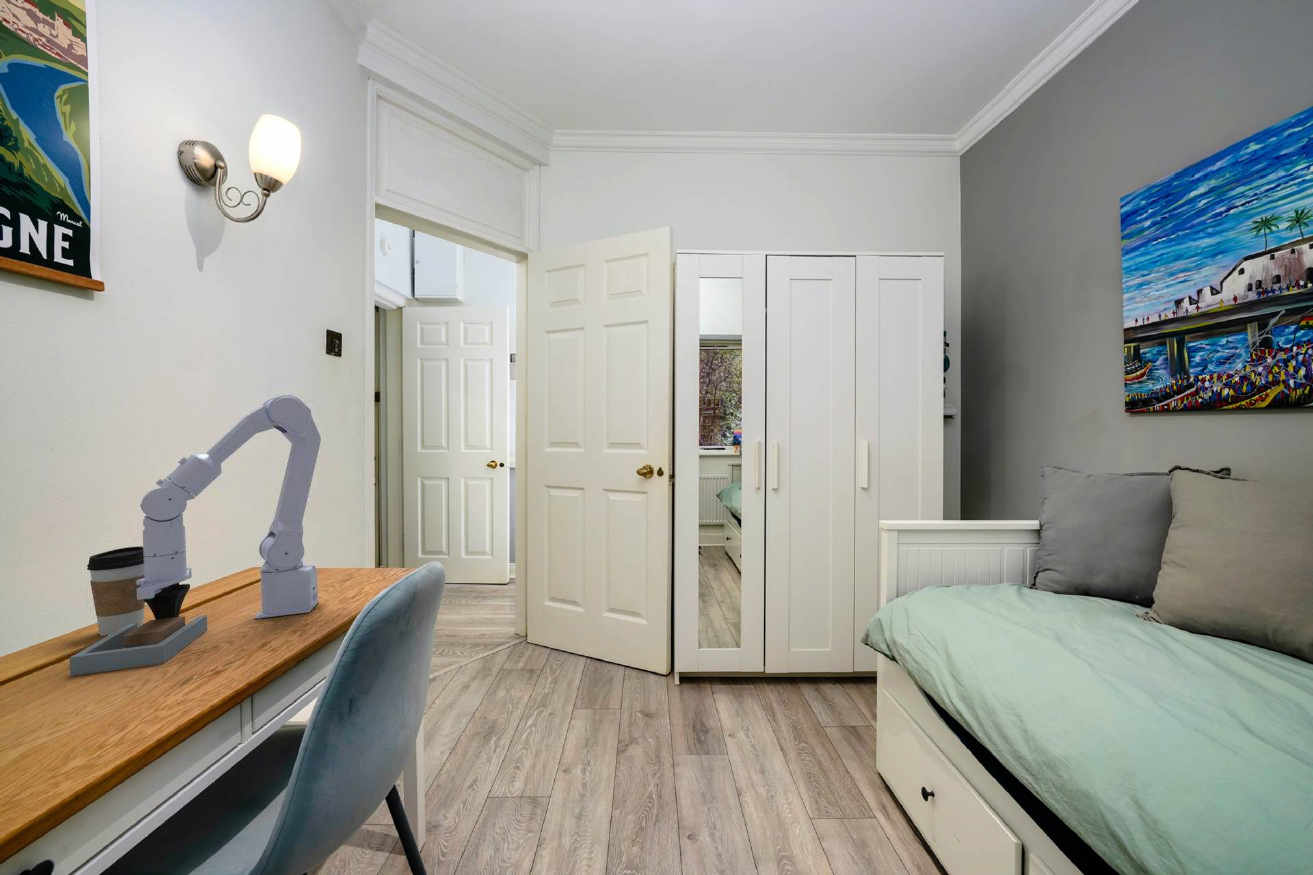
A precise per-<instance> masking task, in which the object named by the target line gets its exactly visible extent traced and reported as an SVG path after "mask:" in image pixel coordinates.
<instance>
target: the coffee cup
mask: <svg viewBox="0 0 1313 875" xmlns="http://www.w3.org/2000/svg"><path fill="white" fill-rule="evenodd" d="M86 567H87V569H86V570H87V571H89V572H90V578H91V580H90V581H89V582H90V587H91V594H92V600H93V605H94V610H95V615H96V620H97V629H98V634H99V635H100V636H102V637H107V636H106V635H110V634H112V633H114V632H116V631H118V630H119V629H121V628H123V627H125V626H126V625H128V624H134V623H137V628H138V627H140V626H141V625H143V624H145V621H144V620H145V619H144V618H145V607H146V602H145V601H144V600H143V599H140V600H137V588H139V587H140V586H141V585H136V581H137V580H140V579H143V578H144V555H143V545H142V546H141V545H140V546H138V545H137V546H129V547H121V548H117V549H116V548H115V549H112V550H108V551H105V552H104V551H103V552H101V553H97V554H93V555H91V556H90V557H89V560H88V564H87V565H86Z"/></svg>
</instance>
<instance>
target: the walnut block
mask: <svg viewBox="0 0 1313 875" xmlns="http://www.w3.org/2000/svg"><path fill="white" fill-rule="evenodd" d="M185 625H186V616H185V615H184V616H179V617H174V618H165V619H156V620H155V619H150V620H148V621H147V622H144V623H143V625H141V626H140V627H138V628H136V629H135V630H133V631H131V632H130V633H128V634H126V635H125V636H124V648H132V647H140V646H148V645H156V644H159V643H160V642H162V641H163V640H165V639H166V638H168V637H169V636H171V635H172V634H173V633H175V632H176V631H178V630H179V629H181V628H182V627H184V626H185ZM124 648H123V649H124Z"/></svg>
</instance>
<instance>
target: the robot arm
mask: <svg viewBox="0 0 1313 875" xmlns="http://www.w3.org/2000/svg"><path fill="white" fill-rule="evenodd" d="M273 429H276V430H277V431H279V432H281V434H282V435H283V436H284V437H285V438H286V440H288V442H289V443H290V444H291V446H290V451H289V455H288V460H287V463H286V467H285V472H284V476H283V480H282V484H281V488H280V494H279V497H278V502H277V506H276V510H275V514H274V517H273V521H272V522H271V524H270V526H269V528H268V533H267V534H266V536H264V538H263V539H262V540H261V542H260V544H259V547H258V552H259V555H260V557H261V558H262V559H263V560H264V563H263V565H262V566H261V567H260V588H261V589H260V590H261V593H260V594H261V596H260V598H261V610H260V611H258V613H257V614H255V615H254V616H253V618H254V619H262V618H272V617H280V616H288V615H290V616H291V615H297V614H307V613H310V612H311V611H312V610H313V609H314V607H316V605H317V604H318V603H319V602H320V601H319V600H320V599H319V592H318V590H319V588H318V571H317V567H316V565H314V564H313V565H308V564H307V565H305V564H304V561H303V560H302V559H303V558H304V556H305V546H304V544H303V536H304V526H303V520H304V515H305V512H306V506H307V503H308V498H309V495H310V491H311V490H310V489H311V485H312V481H313V477H314V472H315V468H316V463H317V460H318V455H319V452H320V446H321V441H322V437H321V434H320V432H319V430H318V427H317V425H316V422H315V421H314V418H313V416H312V411H311V409H310V408H309V407H308V406H307V405H306V404H305V403H304V402H303V401H302V400H301V399H300V398H298V397H297V396H295V395H292V394H282V395H278V396H276V397H272V398H269V399H267V400H266V401H265V402H264V403H263V404H262V405H260V406H258V407H256V408H254V409H252V411H250V412H248V413H247V414H246V415H245V416H243V417H242V418H241V419H240V420H238V421H237V422H236V424H234V426H232V427H231V428H230V429H229V430H228V431H227V432H226V433H225V434H224V435H223V436H222V437H221V438H219V440H218V441H216V443H215V444H213V445H212V446H211V448H209V449H208V450H207V451H206V452H204V453H193V454H190V455H189V456H188V457H187V458H186V457H185V456H184V457H181V459H180V460H178V462H177V463H178V464H180V465H178V466H177V467H176V468H175V469H173V471H171V472H170V473H169V474H168V475H167V476H166V477H164V478H163V479H161V478H159V479H158V480H157V481H156V482H155V484H156V485H157V486H159V487H156V488H153V489H150V491H148V492H146V493H145V495H143V497H142V499H141V503H140V505H139V506H140V509H141V511H142V512H143V514H144V515H145V516H143V518H144V519H143V521H142V525H143V527H144V529H143V530H142V546H143V555H144V578H143V579H140V580H137V581H136V585H141V586H140V587H139V588H137V600H140V599H143V600H144V601H145V604H146V605H147V606H148V607H149V609H150V611H151V612H152V614H153V617H154V620H156V619H165V618H174V617H180V613H181V609H182V606H183V603H184V600H185V599H186V598H185V597H186V596H187V594H188V592H189V590H190V589H191V583H184V584H183V583H182V582H184V581H186V580H188V579H191V578H193V577H192V567H187V546H186V544H187V543H186V527H185V525H184V514H183V513H184V512H185V510H186V508H187V505H188V501H191V500H195V498H197V497H198V496H199V495H200V494H201V493H202V492H203V491H204V490H205V489H207V488H208V486H209V485H211V484H212V483H213V482H215V480H216V479H217V478H218V477H219V476H221V475H222V472H223V471H222V470H223V469H222V463H223V462H225V461H226V460H227V459H229V457H230V456H232V455H233V454H234V453H235V452H236V451H237V450H239V449H240V448H241V447H242V446H244V445H245V444H246V443H247V442H248V441H250V439H252V438H253V437H254V436H255V435H256V434H259V433H263V432H267V431H270V430H273ZM180 583H182V584H180Z"/></svg>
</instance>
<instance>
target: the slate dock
mask: <svg viewBox="0 0 1313 875" xmlns="http://www.w3.org/2000/svg"><path fill="white" fill-rule="evenodd" d="M136 628H137V623H134V624H128V625H126V626H125V627H123V628H121V629H119V630H118V631H116V632H114V633H112V634H110V635H109V636H104V637H103V638H102V639H100V640H98V641H96V642H94V643H93V644H91V645H89V646H88V647H86V648H84V649H82V650H81V651H78V652H77V653H75V654H74V655H72V656H70V657H69V676H70V677H73V676H74V677H75V676H79V675H80V676H81V675H88V674H94V673H101V672H102V673H104V672H109V671H117V670H125V669H131V668H139V667H145V666H146V667H147V666H152V665H153V666H154V665H160V664H165V663H166V662H168V661H169V660H170V659H171V658H173V657H174V656H175V655H176V654H179V653H180V651H182V650H183V649H184V648H186V647H187V646H189V645H190V644H191V643H193V642H194V641H195V640H196V639H198V638H199V637H201V636H202V635H203V634H204V633H206V632H207V631H208V615H207V614H205V615H204V614H203V615H198V616H196V617H195V618H194V619H192V620H191V621H189V622H188V623H186V624H185V626H184V627H182V628H181V629H179V630H178V631H176V632H175V633H173V634H172V635H171V636H169V637H168V638H166V639H165V640H163V641H162V642H160V643H159V644H156V645H148V646H140V647H132V648H124V636H125V635H126V634H128V633H130V632H131V631H133V630H135V629H136Z"/></svg>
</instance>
